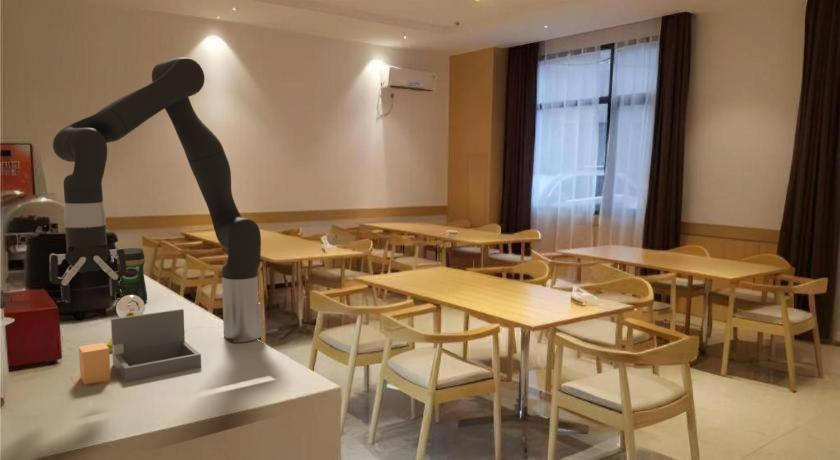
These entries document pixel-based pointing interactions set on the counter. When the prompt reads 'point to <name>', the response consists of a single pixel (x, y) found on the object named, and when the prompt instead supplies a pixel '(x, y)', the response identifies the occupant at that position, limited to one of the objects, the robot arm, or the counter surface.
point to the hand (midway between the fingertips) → (90, 298)
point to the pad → (80, 384)
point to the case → (151, 345)
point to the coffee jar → (134, 274)
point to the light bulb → (130, 306)
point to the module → (94, 363)
